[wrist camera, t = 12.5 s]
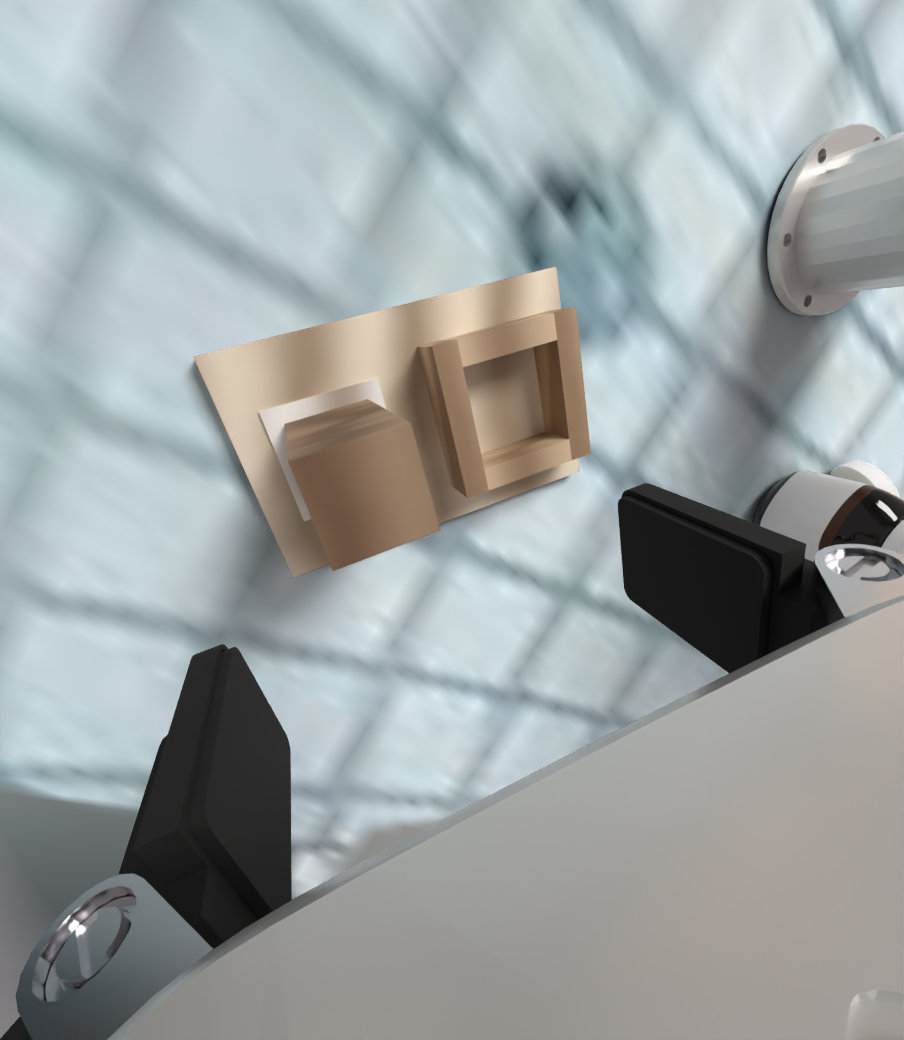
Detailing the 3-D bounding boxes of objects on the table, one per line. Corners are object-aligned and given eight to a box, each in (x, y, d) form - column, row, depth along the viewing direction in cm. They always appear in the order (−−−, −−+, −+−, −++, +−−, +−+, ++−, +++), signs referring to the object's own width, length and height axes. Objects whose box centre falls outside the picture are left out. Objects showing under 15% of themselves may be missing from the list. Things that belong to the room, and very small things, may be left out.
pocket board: (548, 269, 29) (584, 258, 26) (572, 468, 35) (604, 481, 32) (196, 356, 24) (182, 357, 21) (292, 571, 30) (294, 600, 27)
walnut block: (367, 399, 27) (410, 422, 18) (391, 475, 29) (440, 529, 20) (284, 423, 26) (288, 461, 17) (315, 501, 28) (333, 571, 19)
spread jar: (732, 519, 44) (871, 572, 33) (806, 420, 43) (973, 443, 32) (784, 569, 49) (917, 627, 39) (850, 482, 48) (1005, 518, 38)
